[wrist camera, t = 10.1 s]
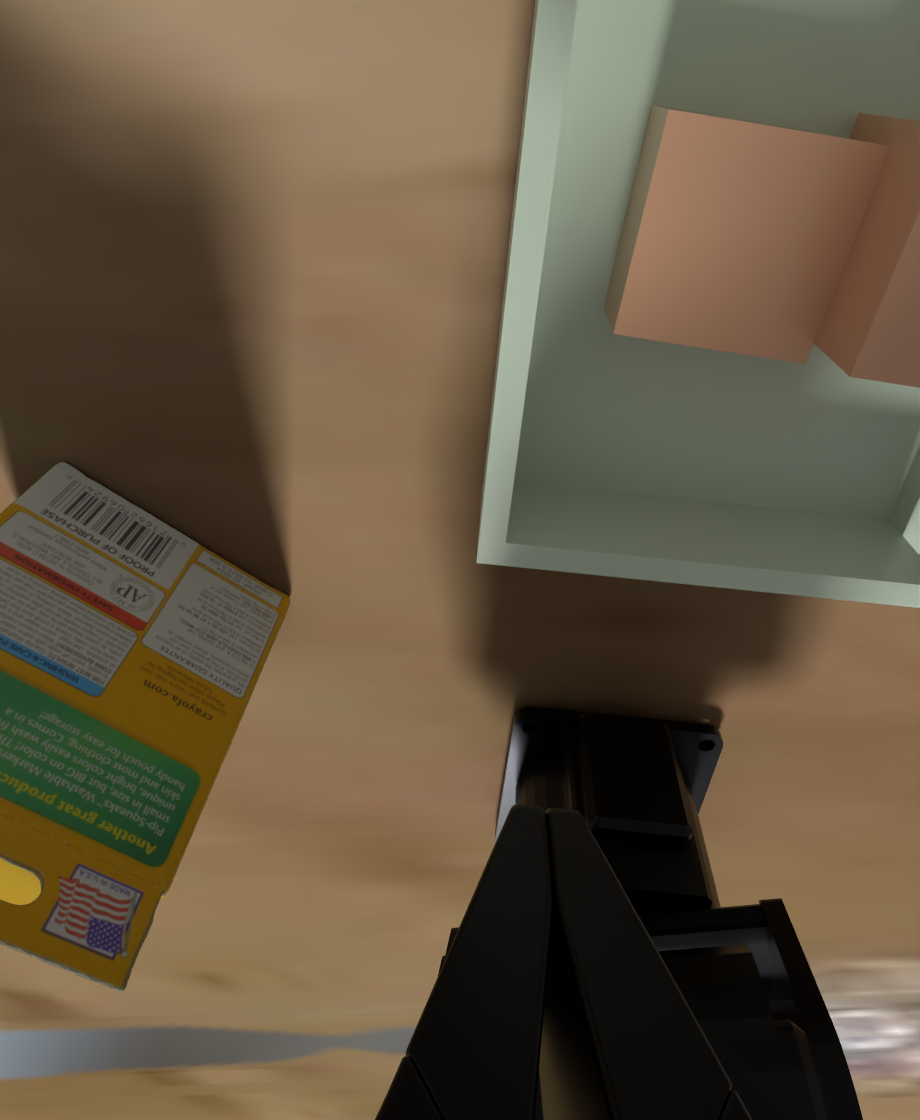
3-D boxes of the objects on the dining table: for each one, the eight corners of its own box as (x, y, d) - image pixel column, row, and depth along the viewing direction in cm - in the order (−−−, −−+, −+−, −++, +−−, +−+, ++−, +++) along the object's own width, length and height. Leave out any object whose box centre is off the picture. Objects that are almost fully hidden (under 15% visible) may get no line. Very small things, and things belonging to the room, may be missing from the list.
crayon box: (22, 531, 22) (-366, 895, 12) (60, 455, 21) (-342, 797, 11) (246, 658, 24) (64, 1058, 14) (295, 597, 23) (130, 992, 13)
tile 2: (613, 333, 16) (604, 308, 18) (805, 364, 16) (777, 335, 18) (668, 109, 14) (652, 104, 15) (890, 146, 14) (849, 137, 16)
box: (897, 534, 21) (961, 612, 18) (481, 492, 21) (476, 563, 18) (1187, -121, 14) (1375, -173, 11) (554, -181, 14) (566, -249, 11)
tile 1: (957, 394, 14) (850, 377, 14) (872, 331, 18) (784, 316, 17) (1083, 146, 12) (955, 126, 12) (957, 129, 15) (858, 112, 15)
